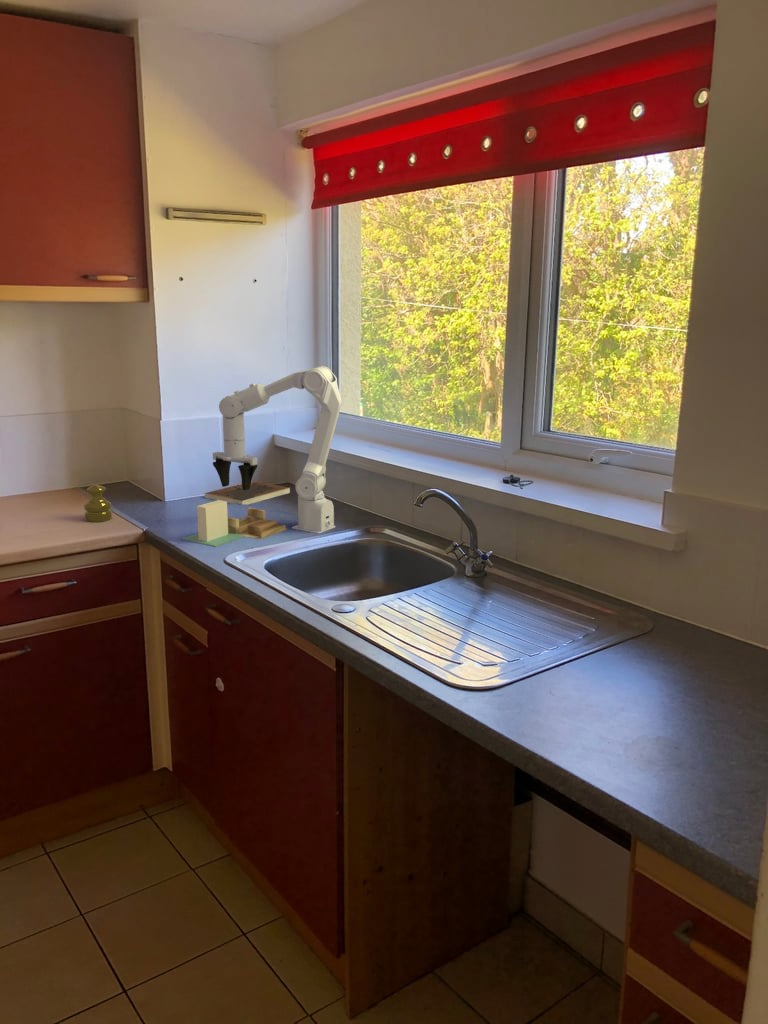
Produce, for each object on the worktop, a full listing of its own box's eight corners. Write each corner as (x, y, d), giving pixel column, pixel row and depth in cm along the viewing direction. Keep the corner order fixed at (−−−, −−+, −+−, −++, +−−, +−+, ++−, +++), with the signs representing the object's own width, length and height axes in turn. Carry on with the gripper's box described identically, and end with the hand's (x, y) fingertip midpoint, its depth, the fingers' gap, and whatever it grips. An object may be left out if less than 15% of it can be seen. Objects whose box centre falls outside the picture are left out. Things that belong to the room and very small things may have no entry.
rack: (288, 530, 229) (288, 514, 228) (259, 540, 219) (259, 524, 218) (249, 522, 236) (248, 507, 235) (220, 532, 226) (219, 516, 225)
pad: (244, 537, 221) (244, 535, 221) (216, 548, 212) (215, 546, 212) (211, 530, 227) (211, 528, 227) (181, 540, 218) (181, 538, 218)
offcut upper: (277, 525, 227) (277, 521, 227) (259, 532, 221) (259, 527, 221) (265, 523, 229) (265, 519, 229) (247, 529, 223) (247, 525, 223)
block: (228, 534, 222) (226, 501, 220) (207, 541, 216) (205, 507, 213) (219, 532, 224) (218, 500, 222) (198, 539, 217) (196, 506, 215)
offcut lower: (280, 529, 228) (280, 525, 228) (261, 536, 221) (260, 532, 221) (267, 527, 230) (266, 522, 230) (247, 533, 224) (247, 529, 223)
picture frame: (242, 507, 254) (289, 494, 272) (242, 500, 254) (289, 487, 271) (204, 500, 264) (252, 487, 281) (204, 492, 263) (252, 480, 280)
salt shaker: (116, 516, 241) (114, 482, 239) (105, 523, 234) (103, 488, 232) (92, 515, 242) (89, 481, 240) (80, 522, 235) (77, 487, 232)
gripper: (204, 438, 229) (206, 487, 232) (244, 444, 221) (246, 493, 225) (221, 435, 235) (223, 482, 238) (261, 440, 227) (263, 489, 231)
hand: (235, 487), depth 232 cm, fingers open, 7 cm apart
